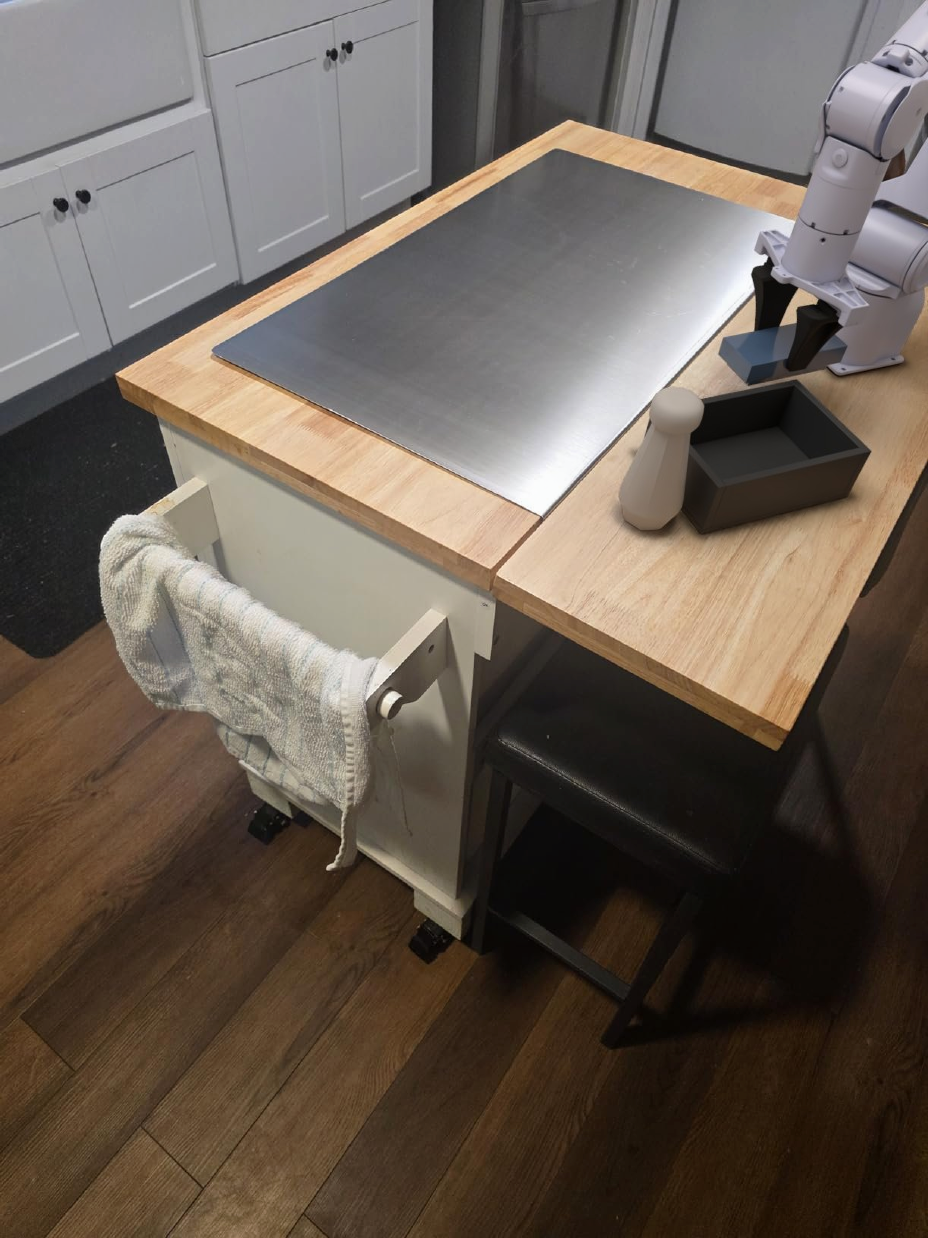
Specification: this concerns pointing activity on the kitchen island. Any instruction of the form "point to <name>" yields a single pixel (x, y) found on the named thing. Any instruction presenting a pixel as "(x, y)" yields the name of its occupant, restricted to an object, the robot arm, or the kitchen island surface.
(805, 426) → the tub
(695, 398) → the salt shaker
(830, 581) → the kitchen island surface
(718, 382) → the kitchen island surface
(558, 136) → the kitchen island surface
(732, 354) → the blue block in tray
